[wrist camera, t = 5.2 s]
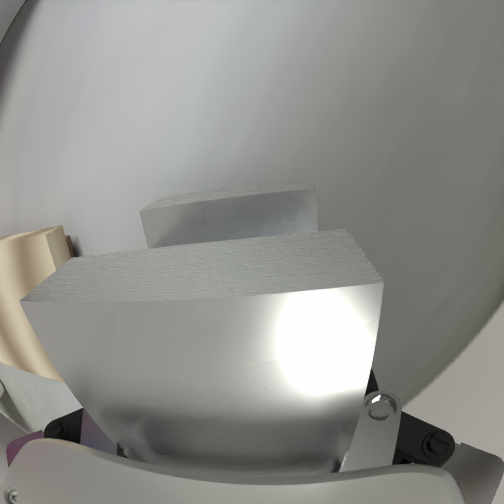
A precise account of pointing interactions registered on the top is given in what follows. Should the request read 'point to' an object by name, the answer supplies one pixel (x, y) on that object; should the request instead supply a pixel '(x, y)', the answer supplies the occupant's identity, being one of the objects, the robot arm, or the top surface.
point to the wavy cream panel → (19, 285)
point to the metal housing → (220, 334)
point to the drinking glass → (1, 389)
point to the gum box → (8, 14)
